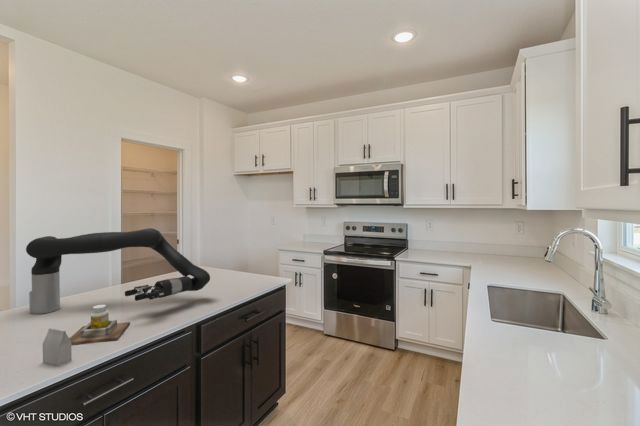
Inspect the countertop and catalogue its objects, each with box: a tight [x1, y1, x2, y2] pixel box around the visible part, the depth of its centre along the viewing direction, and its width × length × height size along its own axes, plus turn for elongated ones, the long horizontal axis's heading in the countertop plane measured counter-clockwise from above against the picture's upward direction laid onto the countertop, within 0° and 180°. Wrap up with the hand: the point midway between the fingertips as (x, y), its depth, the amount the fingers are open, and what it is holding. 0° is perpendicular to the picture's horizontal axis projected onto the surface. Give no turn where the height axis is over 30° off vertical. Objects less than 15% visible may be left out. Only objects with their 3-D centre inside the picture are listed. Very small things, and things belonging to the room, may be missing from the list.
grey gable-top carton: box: [42, 327, 73, 367], centre depth 93 cm, size 4×7×10 cm, turn 74°
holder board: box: [68, 319, 131, 346], centre depth 111 cm, size 16×14×4 cm
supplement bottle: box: [90, 304, 110, 329], centre depth 111 cm, size 5×5×10 cm
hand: (130, 296), depth 122 cm, fingers open, 8 cm apart
